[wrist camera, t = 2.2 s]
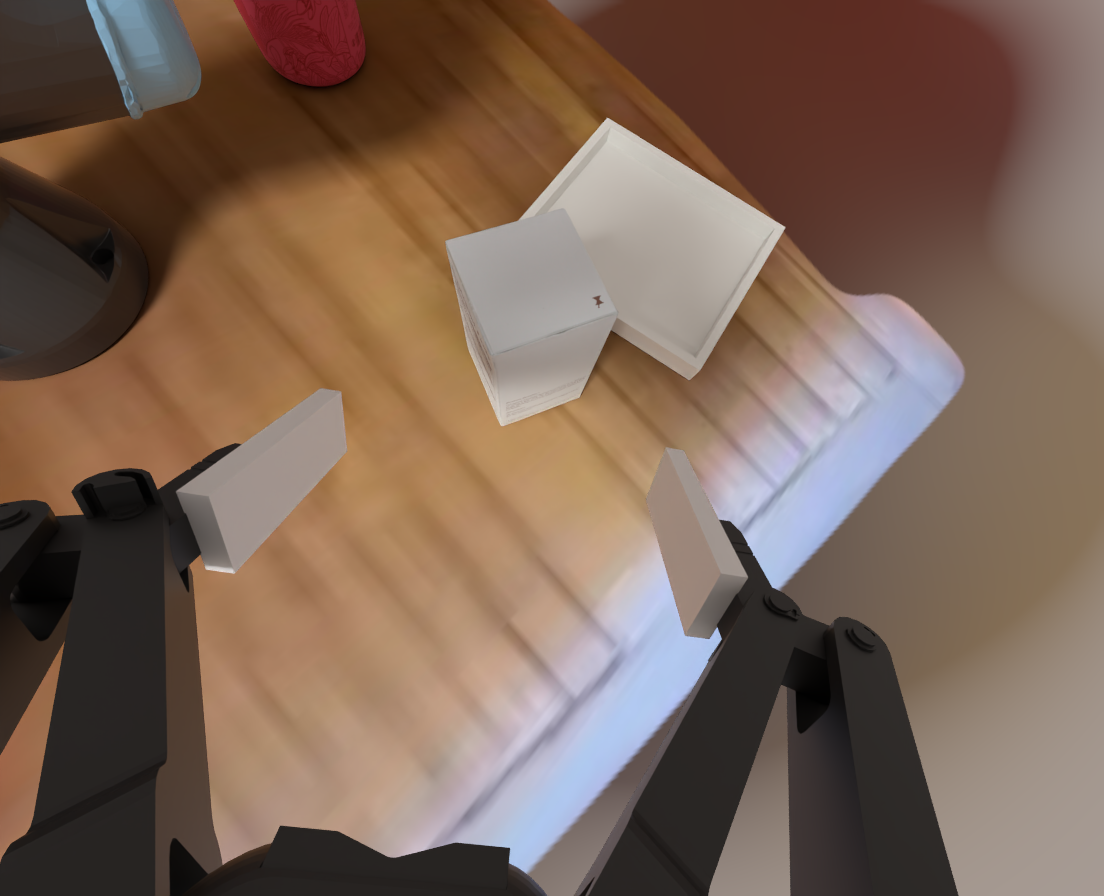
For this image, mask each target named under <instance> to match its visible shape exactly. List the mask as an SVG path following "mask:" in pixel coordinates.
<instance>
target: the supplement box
mask: <svg viewBox="0 0 1104 896" xmlns="http://www.w3.org/2000/svg"><path fill="white" fill-rule="evenodd" d="M445 243H446V249H447V253H448V258H449V262H450V266H451V271H452V276H453V280H454V284H455V289H456V293H457V297H458V301H459V306H460V311H461V316H462V321H463V326H464V330H465V335H466V340H467V345H468V349H469V352H470V354H471V357H472V359H473V361H474V364H475V366H476V368H477V371H478V373H479V376H480V378H481V381H482V383H483V385H484V388H485V390H486V392H487V395H488V397H489V400H490V402H491V404H492V407H493V409H494V411H495V414H496V416H497V418H498V421H499V423H500V425H501V426H505V425H508V424H510V423H513V422H516V421H519V420H522V419H524V418H527V417H529V416H532V415H535V414H537V413H540V412H543V411H545V410H548V409H550V408H553V407H556V406H558V405H561V404H564V403H566V402H569V401H571V400H574V399H577V398H579V397H580V395H581V393H582V391H583V389H584V387H585V384H586V382H587V380H588V378H589V376H590V374H591V372H592V369H593V367H594V365H595V363H596V361H597V359H598V357H599V354H600V352H601V350H602V348H603V346H604V344H605V341H606V339H607V337H608V335H609V333H610V331H611V329H612V326H613V324H614V322H615V320H616V318H617V316H618V313H619V312H618V310H617V309H616V307H615V305H614V303H613V301H612V299H611V297H610V296H609V294H608V292H607V290H606V288H605V286H604V284H603V282H602V280H601V278H600V276H599V274H598V272H597V270H596V268H595V266H594V264H593V262H592V260H591V258H590V256H589V254H588V252H587V250H586V248H585V246H584V244H583V242H582V240H581V238H580V237H579V235H578V233H577V231H576V229H575V227H574V225H573V223H572V221H571V219H570V217H569V215H568V213H567V211H566V210H565V209H564V208H561V209H558V210H554V211H551V212H547V213H544V214H540V215H537V216H534V217H530V218H526V219H523V220H519V221H515V222H512V223H508V224H504V225H501V226H497V227H494V228H490V229H487V230H483V231H479V232H476V233H472V234H468V235H465V236H461V237H457V238H454V239H450V240H447V241H446V242H445Z"/></svg>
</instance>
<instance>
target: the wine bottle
mask: <svg viewBox="0 0 1104 896" xmlns="http://www.w3.org/2000/svg"><path fill="white" fill-rule="evenodd" d="M234 2H235V4H236V6H237V8H238V10H239V12H240V14H241V15H242V17H243V19H244V21H245V23H246V25H247V27H248V29H249V30H250V32H251V34H252V36H253V38H254V40H255V41H256V43H257V45H258V47H259V48H260V50H261V52H262V54H263V55H264V57H265V58H266V60H267V61H268V62H269V64H270V65H271V66H272V67H273V68H274V69H275V70H276V71H277V72H278V73H280V74H281V75H282V76H284V77H286V78H287V79H289V80H291V81H294V82H297V83H300V84H303V85H308V86H330V85H334V84H338V83H341V82H343V81H345V80H347V79H349V78H350V77H351V76H353V75H354V74H355V73H356V72H357V71H358V70H359V69H360V67H361V66H362V63H363V61H364V57H365V52H366V47H365V38H364V34H363V29H362V25H361V21H360V17H359V13H358V9H357V5H356V1H355V0H234Z"/></svg>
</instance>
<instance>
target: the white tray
mask: <svg viewBox="0 0 1104 896" xmlns="http://www.w3.org/2000/svg"><path fill="white" fill-rule="evenodd" d="M561 208H564V209H565V210H566V211H567V213H568V215H569V217H570V219H571V221H572V223H573V225H574V227H575V229H576V231H577V233H578V235H579V237H580V238H581V240H582V242H583V244H584V246H585V248H586V250H587V252H588V254H589V256H590V258H591V260H592V262H593V264H594V266H595V268H596V270H597V272H598V274H599V276H600V278H601V280H602V282H603V284H604V286H605V288H606V290H607V292H608V294H609V296H610V297H611V299H612V301H613V303H614V305H615V307H616V309H617V310H618V312H619V313H618V316H617V318H616V320H615V322H614V324H613V326H612V329H611V330H612V331H613V332H615V333H616V334H618V335H619V336H621V337H623V338H624V339H626V340H627V341H629V342H630V343H632V344H633V345H635V346H637V347H638V348H640V349H641V350H643V351H644V352H646V353H647V354H649V355H650V356H652V357H654V358H655V359H657V360H658V361H660V362H661V363H663V364H664V365H666V366H668V367H669V368H671V369H672V370H674V371H675V372H677V373H678V374H680V375H682V376H683V377H685V378H686V379H688V380H690V379H691V378H692V377H694V376H695V375H696V374H697V373H698V372H699V371H700V370H701V368H702V367H703V365H704V363H705V361H706V360H707V358H708V356H709V355H710V353H711V351H712V350H713V348H714V346H715V345H716V343H717V341H718V340H719V338H720V336H721V335H722V333H723V331H724V330H725V328H726V326H727V325H728V323H729V321H730V320H731V318H732V316H733V315H734V313H735V311H736V310H737V308H738V306H739V305H740V303H741V301H742V300H743V298H744V296H745V295H746V293H747V291H748V290H749V288H750V286H751V284H752V283H753V281H754V279H755V278H756V276H757V274H758V273H759V271H760V269H761V268H762V266H763V264H764V263H765V261H766V259H767V258H768V256H769V254H770V253H771V251H772V249H773V248H774V246H775V244H776V243H777V241H778V239H779V238H780V236H781V234H782V233H783V231H784V229H785V227H784V226H782V225H781V224H779V223H778V222H776V221H774V220H773V219H771V218H769V217H768V216H766V215H765V214H763V213H761V212H760V211H758V210H756V209H755V208H753V207H752V206H750V205H748V204H747V203H745V202H743V201H742V200H740V199H739V198H737V197H735V196H734V195H732V194H731V193H729V192H727V191H726V190H724V189H722V188H721V187H719V186H718V185H716V184H714V183H713V182H711V181H709V180H708V179H706V178H705V177H703V176H701V175H700V174H698V173H696V172H695V171H693V170H692V169H690V168H688V167H687V166H685V165H683V164H682V163H680V162H679V161H677V160H675V159H674V158H672V157H671V156H669V155H667V154H666V153H664V152H662V151H661V150H659V149H658V148H656V147H654V146H653V145H651V144H649V143H648V142H646V141H645V140H643V139H641V138H640V137H638V136H636V135H635V134H633V133H632V132H630V131H628V130H627V129H625V128H623V127H622V126H620V125H619V124H617V123H615V122H614V121H612V120H611V119H609V118H607V119H606V120H605V121H604V122H603V123H602V125H601V126H600V127H599V128H598V129H597V130H596V132H595V133H594V134H593V135H592V136H591V137H590V138H589V140H588V141H587V142H586V143H585V144H584V145H583V147H582V148H581V149H580V150H579V151H578V152H577V153H576V155H575V156H574V157H573V158H572V159H571V160H570V162H569V163H568V164H567V165H566V166H565V167H564V168H563V170H562V171H561V172H560V173H559V174H558V175H557V177H556V178H555V179H554V180H553V181H552V182H551V183H550V185H549V186H548V187H547V188H546V189H545V190H544V192H543V193H542V194H541V195H540V196H539V197H538V198H537V200H536V201H535V202H534V203H533V204H532V205H531V207H530V208H529V209H528V210H527V211H526V212H525V213H524V215H523V216H522V217H521V218H520V219H519V220H523V219H526V218H530V217H534V216H537V215H540V214H544V213H547V212H551V211H554V210H558V209H561ZM519 220H518V221H519Z"/></svg>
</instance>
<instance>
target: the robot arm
mask: <svg viewBox="0 0 1104 896" xmlns="http://www.w3.org/2000/svg"><path fill="white" fill-rule="evenodd" d="M200 84H201V68H200V64H199V60H198V57H197V54H196V52H195V49H194V47H193V44H192V42H191V39H190V37H189V35H188V33H187V30H186V28H185V26H184V23H183V21H182V19H181V17H180V15H179V12H178V10H177V8H176V6H175V4H174V1H173V0H0V143H4V142H8V141H13V140H18V139H22V138H27V137H32V136H36V135H41V134H46V133H50V132H55V131H60V130H64V129H69V128H74V127H78V126H83V125H88V124H92V123H97V122H102V121H106V120H111V119H116V118H120V117H125V116H130V117H131V118H132V119H140V118H141V117H142V116H143V112H146V111H149V110H153V109H157V108H160V107H164V106H167V105H171V104H175V103H178V102H182V101H185V100H188V99H190V98H191V97H193V96H194V95H195V94H196V93H197V91H198V90H199V87H200ZM147 287H148V267H147V262H146V258H145V256H144V253H143V251H142V249H141V247H140V245H139V244H138V242H137V241H136V240H135V238H134V237H133V236H132V235H131V234H130V233H129V232H128V231H127V230H126V229H125V228H124V227H122V226H121V225H120V224H119V223H117V222H116V221H115V220H114V219H113V218H111V217H110V216H109V215H108V214H106V213H105V212H104V211H103V210H102V209H100V208H99V207H97V206H96V205H95V204H93V203H91V202H90V201H88V200H87V199H85V198H83V197H81V196H79V195H77V194H75V193H73V192H71V191H69V190H67V189H65V188H63V187H61V186H59V185H57V184H55V183H53V182H51V181H49V180H47V179H45V178H43V177H41V176H39V175H37V174H35V173H33V172H31V171H29V170H27V169H25V168H23V167H21V166H19V165H17V164H14V163H12V162H10V161H8V160H6V159H4V158H2V157H0V380H4V381H16V380H28V379H35V378H41V377H46V376H50V375H53V374H57V373H60V372H63V371H66V370H68V369H71V368H73V367H76V366H78V365H80V364H82V363H84V362H86V361H88V360H90V359H91V358H93V357H95V356H96V355H98V354H99V353H101V352H102V351H104V350H105V349H107V348H108V347H109V346H110V345H112V344H113V343H114V342H115V341H116V340H117V339H118V338H119V337H120V336H121V335H122V334H123V333H124V332H125V331H126V330H127V329H128V327H129V326H130V325H131V324H132V322H133V321H134V319H135V318H136V316H137V314H138V313H139V311H140V309H141V307H142V304H143V302H144V299H145V296H146V292H147ZM346 452H347V445H346V435H345V425H344V415H343V406H342V396H341V392H340V391H334V390H329V389H323V388H320V389H319V390H318V391H316V392H315V393H313V394H312V395H311V396H309V397H308V398H306V399H305V400H304V401H302V402H301V403H299V404H298V405H297V406H295V407H294V408H292V409H291V410H290V411H288V412H287V413H285V414H284V415H283V416H281V417H280V418H278V419H277V420H276V421H274V422H273V423H271V424H270V425H268V426H267V427H266V428H264V429H263V430H261V431H260V432H259V433H257V434H256V435H254V436H253V437H252V438H250V439H249V440H247V441H246V442H245V443H243V444H237V443H234V444H232V445H229V446H226V447H224V448H221V449H219V450H216V451H215V452H213V453H212V454H210V455H209V456H207V457H206V458H204V459H203V460H202V462H198V463H197V464H195V465H194V466H192V467H191V469H190V470H186V471H185V472H184V473H182V474H181V475H179V476H178V477H176V478H175V479H173V480H172V481H170V482H169V483H167V484H166V485H164V486H163V487H161V488H160V489H158V490H157V488H156V485H155V483H154V480H153V478H152V476H151V474H150V472H147V471H145V470H142V469H132V468H128V469H117V470H112V471H107V472H103V473H99V474H97V475H94V476H92V477H89V478H87V479H85V480H83V481H82V482H80V483H79V484H77V485H76V486H75V487H74V489H73V490H72V494H73V496H74V498H75V499H76V501H77V503H78V505H79V507H80V508H81V510H82V512H83V514H84V515H69V516H55V515H54V513H53V511H52V510H51V508H50V507H49V505H48V504H47V503H45V502H41V501H37V500H22V501H16V502H10V503H3V504H0V755H1V753H2V751H3V750H4V748H5V746H6V744H7V742H8V741H9V739H10V737H11V735H12V733H13V732H14V730H15V728H16V726H17V725H18V723H19V721H20V719H21V717H22V716H23V714H24V712H25V710H26V709H27V707H28V705H29V703H30V701H31V700H32V698H33V696H34V694H35V693H36V691H37V689H38V687H39V685H40V684H41V682H42V680H43V678H44V676H45V675H46V673H47V671H48V669H49V668H50V666H51V664H52V662H53V660H54V659H55V657H56V655H57V653H58V652H59V650H60V648H61V646H62V644H63V643H64V641H65V643H64V649H63V655H62V660H61V666H60V671H59V677H58V682H57V688H56V694H55V699H54V705H53V710H52V716H51V722H50V727H49V733H48V738H47V744H46V749H45V755H44V761H43V766H42V772H41V777H40V783H39V788H38V794H37V800H36V805H35V811H34V816H33V820H32V823H31V827H30V828H29V830H28V832H27V833H26V835H24V836H22V837H21V838H19V839H18V840H16V841H14V842H13V843H11V844H10V846H9V847H8V849H7V850H6V852H5V854H4V855H3V857H2V859H1V862H0V896H547V895H546V893H545V892H544V891H543V890H542V888H541V887H540V886H539V885H538V884H537V883H536V882H535V881H534V880H533V879H532V878H531V877H530V876H528V875H527V874H526V873H524V872H523V871H522V870H520V869H519V868H517V867H515V866H513V865H511V864H509V854H510V848H505V847H495V846H484V845H474V844H464V843H452V844H448V845H444V846H440V847H437V848H433V849H429V850H425V851H421V852H417V853H413V854H409V855H405V856H401V857H397V858H390V857H387V856H385V855H383V854H381V853H379V852H377V851H375V850H373V849H371V848H369V847H367V846H366V845H364V844H362V843H360V842H358V841H356V840H354V839H352V838H350V837H348V836H346V835H344V834H342V833H340V832H338V831H330V830H319V829H309V828H299V827H288V826H280V827H279V829H278V832H277V834H276V836H275V838H274V840H273V842H272V843H271V844H267V845H264V846H261V847H259V848H256V849H253V850H251V851H248V852H246V853H244V854H242V855H240V856H238V857H236V858H234V859H232V860H230V861H229V862H227V863H225V864H224V865H222V859H221V854H220V849H219V845H218V841H217V838H216V835H215V831H214V826H213V820H212V811H211V798H210V786H209V773H208V761H207V749H206V736H205V724H204V712H203V699H202V687H201V674H200V662H199V650H198V637H197V625H196V612H195V600H194V588H193V575H192V571H191V569H190V567H189V565H190V564H191V563H192V562H193V561H194V560H195V559H196V558H197V557H198V556H199V555H201V557H202V560H203V563H204V565H205V568H206V569H207V570H214V571H221V572H228V573H236V571H237V570H238V569H239V568H240V567H241V566H242V565H243V564H244V563H245V562H246V561H247V560H248V558H249V557H250V556H251V555H252V554H253V553H254V552H255V551H256V550H257V549H258V548H259V546H260V545H261V544H262V543H263V542H264V541H265V540H266V539H267V538H268V537H269V536H270V534H271V533H272V532H273V531H274V530H275V529H276V528H277V527H278V526H279V525H280V524H281V523H282V521H283V520H284V519H285V518H286V517H287V516H288V515H289V514H290V513H291V512H292V511H293V509H294V508H295V507H296V506H297V505H298V504H299V503H300V502H301V501H302V500H303V499H304V498H305V496H306V495H307V494H308V493H309V492H310V491H311V490H312V489H313V488H314V487H315V486H316V484H317V483H318V482H319V481H320V480H321V479H322V478H323V477H324V476H325V475H326V474H327V472H328V471H329V470H330V469H331V468H332V467H333V466H334V465H335V464H336V463H337V462H338V461H339V459H340V458H341V457H342V456H343V455H344V454H345V453H346ZM646 502H647V505H648V509H649V512H650V516H651V519H652V522H653V526H654V529H655V533H656V536H657V540H658V543H659V547H660V550H661V554H662V557H663V561H664V564H665V568H666V571H667V574H668V578H669V581H670V585H671V588H672V592H673V595H674V599H675V602H676V606H677V609H678V613H679V616H680V620H681V623H682V626H683V630H684V633H685V636H691V637H698V638H705V639H710V637H711V636H712V634H713V632H714V631H715V629H716V628H717V627H718V630H719V632H720V635H721V638H722V640H721V641H720V643H719V644H718V646H717V647H716V649H715V650H714V652H713V653H712V655H711V657H710V658H709V660H708V661H709V662H708V664H707V665H706V667H705V669H704V671H703V672H702V674H701V676H700V678H699V679H698V681H697V683H696V685H695V686H694V688H693V690H692V692H691V693H690V695H689V697H688V699H687V700H686V702H685V704H684V706H683V708H682V709H681V711H680V713H679V715H678V716H677V718H676V720H675V722H674V724H673V725H672V727H671V729H670V730H669V732H668V734H667V736H666V737H665V739H664V741H663V743H662V744H661V746H660V748H659V750H658V751H657V753H656V755H655V757H654V758H653V760H652V762H651V764H650V765H649V767H648V769H647V771H646V773H645V774H644V776H643V778H642V780H641V781H640V783H639V785H638V787H637V789H636V790H635V792H634V794H633V795H632V797H631V799H630V801H629V802H628V804H627V806H626V808H625V810H624V811H623V813H622V815H621V817H620V818H619V820H618V822H617V824H616V825H615V827H614V829H613V831H612V832H611V834H610V836H609V837H608V839H607V841H606V843H605V845H604V846H603V848H602V850H601V852H600V854H599V855H598V857H597V859H596V860H595V862H594V864H593V865H592V867H591V869H590V870H589V872H588V873H587V875H586V877H585V878H584V880H583V881H582V883H581V885H580V886H579V888H578V890H577V891H576V893H575V895H574V896H708V893H709V888H710V884H711V881H712V878H713V875H714V873H715V870H716V867H717V864H718V861H719V858H720V855H721V853H722V850H723V847H724V844H725V841H726V839H727V835H728V833H729V830H730V827H731V824H732V822H733V819H734V816H735V813H736V810H737V807H738V805H739V802H740V799H741V796H742V793H743V790H744V788H745V785H746V782H747V779H748V776H749V773H750V771H751V768H752V765H753V762H754V759H755V756H756V753H757V751H758V748H759V745H760V742H761V739H762V737H763V733H764V731H765V728H766V725H767V722H768V720H769V716H770V714H771V711H772V708H773V705H774V702H775V700H776V697H777V694H778V691H779V688H780V686H781V685H783V686H786V687H787V719H788V721H787V722H788V774H789V830H790V831H789V832H790V834H789V835H790V888H791V889H790V890H791V896H958V892H957V889H956V885H955V882H954V878H953V875H952V871H951V867H950V864H949V860H948V857H947V854H946V850H945V846H944V843H943V839H942V836H941V832H940V828H939V825H938V821H937V818H936V814H935V811H934V807H933V804H932V800H931V797H930V793H929V790H928V786H927V783H926V779H925V776H924V772H923V769H922V765H921V761H920V758H919V754H918V751H917V747H916V743H915V740H914V736H913V733H912V730H911V726H910V722H909V719H908V715H907V711H906V708H905V704H904V701H903V697H902V694H901V690H900V687H899V684H898V680H897V676H896V672H895V669H894V665H893V662H892V658H891V655H890V652H889V650H888V648H887V646H886V644H885V643H884V642H883V640H882V639H881V638H880V637H879V636H878V635H877V634H876V633H875V632H874V631H872V630H871V629H870V628H869V627H867V626H865V625H864V624H862V623H860V622H859V621H857V620H853V619H851V618H848V617H839V618H837V619H836V620H834V621H833V623H832V624H831V625H830V626H829V625H826V624H824V623H821V622H819V621H816V620H814V619H811V618H808V617H806V616H804V615H802V612H801V610H800V608H799V607H798V606H797V605H796V603H795V602H794V601H793V600H792V599H791V598H789V597H788V596H787V595H785V594H784V593H782V592H780V591H778V590H776V589H774V588H772V587H771V585H770V583H769V581H768V579H767V578H766V576H765V574H764V572H763V570H762V569H761V567H760V565H759V563H758V561H757V560H756V558H755V556H753V553H752V551H751V549H750V547H749V546H748V544H747V542H746V540H745V538H744V536H743V535H742V533H741V532H740V531H739V530H738V529H737V528H736V527H735V526H734V525H733V524H732V523H731V522H730V521H724V520H719V519H718V517H717V515H716V513H715V511H714V509H713V507H712V505H711V503H710V501H709V499H708V497H707V495H706V493H705V492H704V490H703V488H702V486H701V484H700V482H699V480H698V478H697V476H696V474H695V472H694V470H693V468H692V466H691V464H690V462H689V460H688V458H687V456H686V454H685V452H684V450H678V449H672V448H667V447H666V448H665V451H664V453H663V456H662V458H661V461H660V464H659V466H658V469H657V472H656V474H655V477H654V479H653V482H652V485H651V487H650V490H649V492H648V495H647V498H646Z"/></svg>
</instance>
